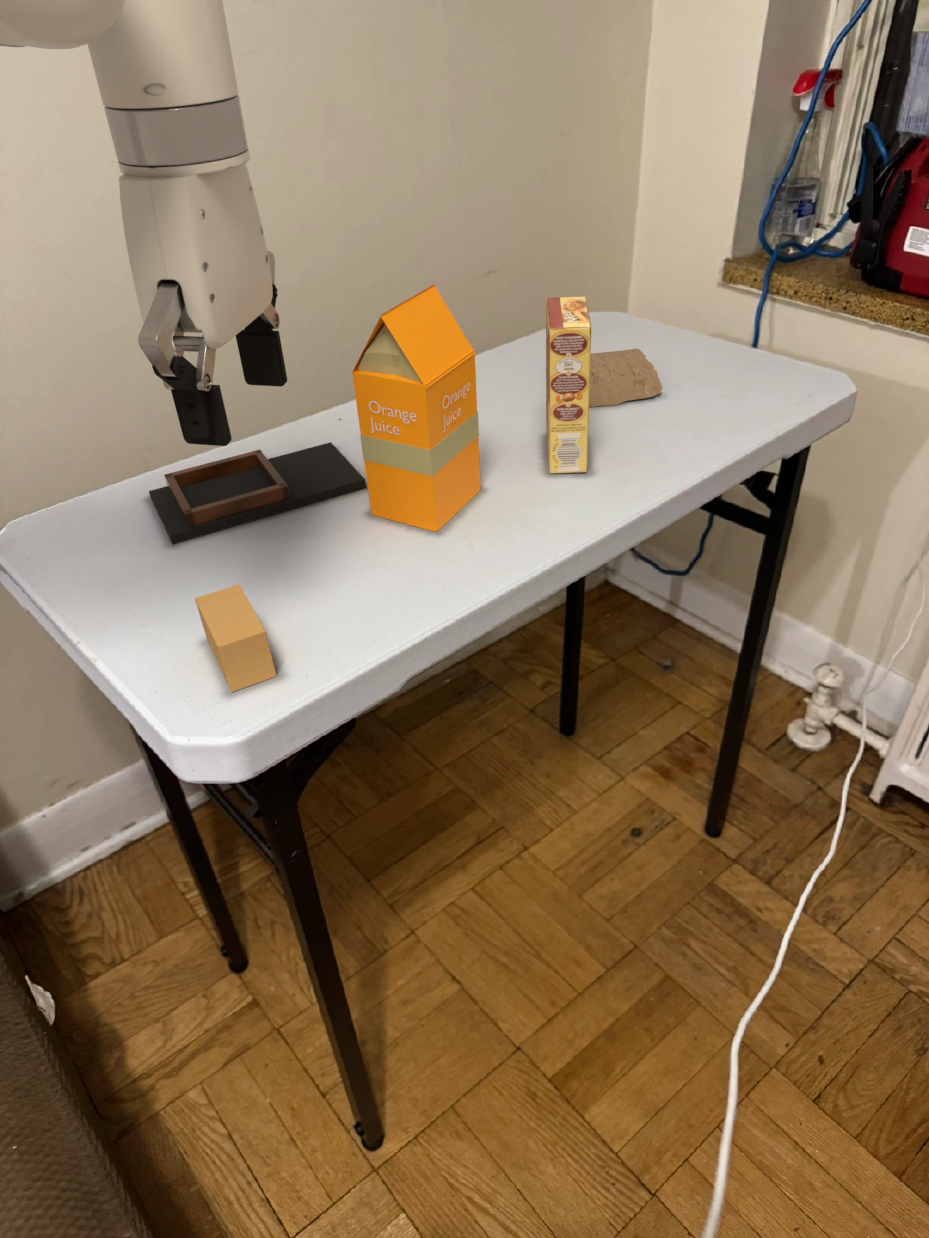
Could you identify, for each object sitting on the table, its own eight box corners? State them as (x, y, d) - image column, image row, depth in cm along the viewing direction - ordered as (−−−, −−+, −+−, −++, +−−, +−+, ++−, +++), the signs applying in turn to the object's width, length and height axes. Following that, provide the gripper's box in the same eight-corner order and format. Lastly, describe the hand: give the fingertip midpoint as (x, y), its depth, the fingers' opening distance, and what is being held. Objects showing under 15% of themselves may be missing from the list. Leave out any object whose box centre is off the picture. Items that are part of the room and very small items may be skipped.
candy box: (588, 474, 89) (594, 326, 79) (547, 475, 89) (548, 327, 80) (582, 435, 96) (587, 294, 86) (544, 436, 96) (545, 296, 87)
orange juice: (482, 490, 87) (473, 288, 75) (437, 532, 82) (420, 321, 69) (416, 474, 91) (398, 278, 78) (369, 514, 85) (341, 309, 72)
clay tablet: (665, 397, 102) (667, 375, 101) (582, 407, 101) (583, 385, 100) (625, 353, 114) (627, 333, 112) (551, 362, 113) (551, 342, 111)
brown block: (231, 692, 65) (217, 647, 62) (207, 642, 70) (194, 597, 67) (276, 676, 66) (265, 631, 64) (250, 627, 71) (239, 583, 69)
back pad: (172, 544, 82) (165, 522, 81) (150, 499, 89) (144, 477, 88) (366, 487, 89) (363, 466, 87) (332, 450, 96) (328, 429, 95)
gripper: (189, 115, 58) (241, 363, 68) (35, 168, 45) (128, 466, 55) (294, 113, 56) (331, 367, 67) (167, 167, 43) (237, 474, 54)
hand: (239, 411), depth 61 cm, fingers open, 9 cm apart
